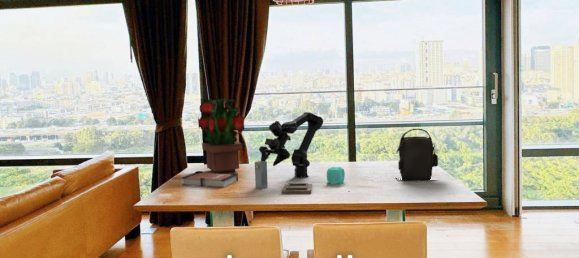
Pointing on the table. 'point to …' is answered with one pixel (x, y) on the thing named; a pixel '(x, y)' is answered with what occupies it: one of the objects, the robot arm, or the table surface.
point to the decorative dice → (335, 175)
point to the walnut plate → (297, 188)
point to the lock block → (261, 174)
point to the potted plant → (221, 134)
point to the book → (210, 179)
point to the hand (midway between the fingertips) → (267, 164)
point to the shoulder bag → (416, 157)
